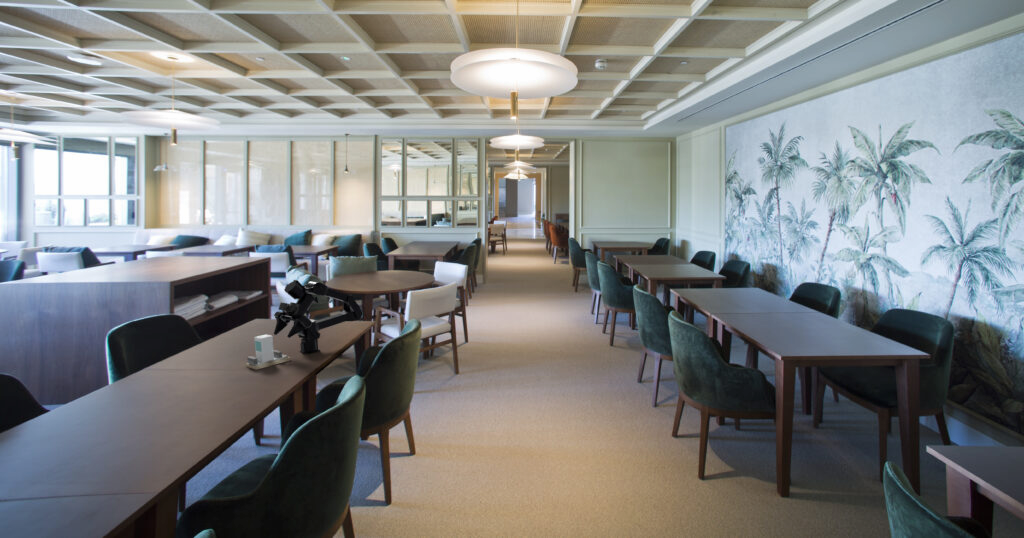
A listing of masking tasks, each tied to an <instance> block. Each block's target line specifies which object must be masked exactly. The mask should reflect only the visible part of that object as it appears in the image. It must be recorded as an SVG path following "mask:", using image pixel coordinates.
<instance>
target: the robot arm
mask: <svg viewBox="0 0 1024 538" xmlns="http://www.w3.org/2000/svg"><path fill="white" fill-rule="evenodd" d="M284 292H285V293H286V294H287V295H288V296H289V297H291V298H292V299H293V300H297V301H296V302H294V301H293V302H291V301H290V303H286V302H282V301H280V304H279V306H278V310H279V311H276V312H275V313H274V314H273V316H274V319H275V320H276V325H275V328H274V330H273V335H274V336H277V335H278V334H279V333H280V332H282V331H283V330H284V329H285V328H286V327H287V326H288V324H289V323H290V322H293V326H292V327H291V329H290V330H289V332H288V334H287V338H292V337H293V336H294V335H297V336H298V338H299V339H300V350H299V353H301V354H305V355H309V354H313V353H318V352H320V351H321V349H320V348H319V343H318V342H319V341H318V340H319V339H320V337H321V333H320V332H319V331H320V330H323V329H327V328H329V327H333V326H336V325H338V324H342V323H346V322H357V321H360V320H361V319H362V317H363V315H364V314H363V311H362V309H361V307H360V305H359V304H358V303H357V301H356V299H355V297H354V296H353V295H352V294H349V293H345V292H341V291H338V290H335V289H333V288H331V287H329V286H328V285H326V284H324V283H323V282H320V281H314V280H313V281H312V280H311V281H309V282H308V283H306V284H304V285H303V284H302V283H301V282H300V281H299V280H298V279H293V281H290V283H288V284H287V285H285V287H284ZM314 295H315V296H314ZM318 296H324V297H327V298H331V299H334V300H337V301H341V302H342V309H343V310H342V311H341V312H340V313H338V314H334V315H330V316H327V317H324V318H320V319H317V320H315V319H312V318H309V317H308V316H306V314H309V309H310V307H311V306H312V304H318V303H319V300H318Z"/></svg>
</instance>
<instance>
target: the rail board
mask: <svg viewBox="0 0 1024 538" xmlns="http://www.w3.org/2000/svg"><path fill="white" fill-rule="evenodd" d="M273 350H274V360H270V361H267V362H259V361H258V360H257V358H256V356H252V355H251V356H247V358H246V361H247V363H245V367H246V368H250V369H253V370H261V369H265V368H267V367H272V366H275V365H278V364H281V363H285V362H289V361H291V356H289V355H286V354H283V351H281V350H276V349H273Z"/></svg>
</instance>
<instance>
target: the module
mask: <svg viewBox="0 0 1024 538" xmlns="http://www.w3.org/2000/svg"><path fill="white" fill-rule="evenodd" d="M273 337H274V336H273V335H271V334H261V335H257V336H254V347H255V358H257V360H258V361H259V362H267V361H270V360H274V350H275V349H274V339H273Z"/></svg>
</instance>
